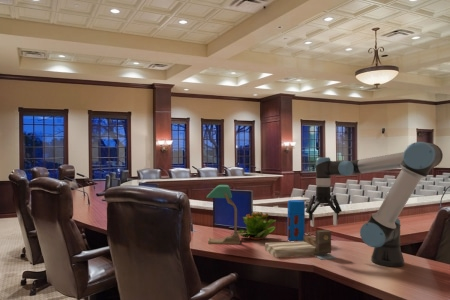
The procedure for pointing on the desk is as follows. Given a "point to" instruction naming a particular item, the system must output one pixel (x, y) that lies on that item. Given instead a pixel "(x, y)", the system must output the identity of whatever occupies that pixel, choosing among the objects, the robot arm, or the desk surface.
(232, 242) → the banker's lamp
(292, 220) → the blue slotted block
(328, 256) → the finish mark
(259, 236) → the potted flower
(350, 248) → the desk surface
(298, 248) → the log raft
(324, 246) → the marking gauge
